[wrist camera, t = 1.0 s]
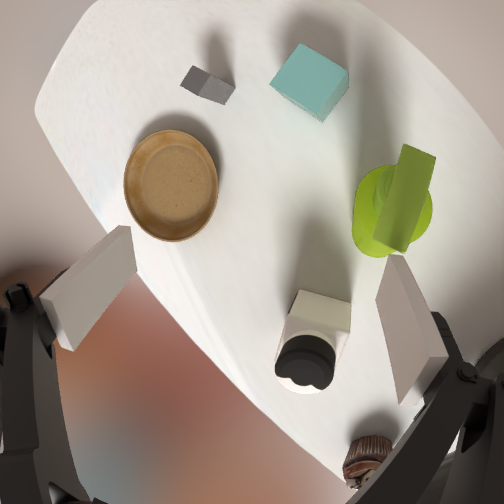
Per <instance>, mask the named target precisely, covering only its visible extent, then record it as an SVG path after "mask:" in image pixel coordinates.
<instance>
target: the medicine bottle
mask: <svg viewBox="0 0 504 504" xmlns="http://www.w3.org/2000/svg"><path fill="white" fill-rule="evenodd" d="M350 325H351V303H348V302H345V301H341V300H337V299H334V298H330V297H326V296H323V295H319V294H316V293H312V292H309V291H305V290H301V289H300V290H298V291H297V294H296V296H295V298H294V301H293V303H292V305H291V307H290V310H289V312H288V314H287V317H286V321H285V324H284V328H283V332H282V336H281V339H280V343H279V346H278V350H277V354H276V357H275V363H276V364H275V374H276V376H277V378H278V380H279V381H280V382H281V384H282V385H283V386H285V387H286V388H287V389H289V390H291V391H293V392H296V393H300V394H312V393H316V392H319V391H322V390H323V389H325V388H326V387H328V386H329V384H330V383H331V382H332V380H333V376H334V371H335V368H336V366H337V364H338V361H339V359H340V357H341V354H342V352H343V349H344V347H345V345H346V342H347V340H348V337H349V335H350Z"/></svg>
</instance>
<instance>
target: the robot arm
mask: <svg viewBox="0 0 504 504" xmlns="http://www.w3.org/2000/svg"><path fill="white" fill-rule="evenodd" d="M136 272H137V266H136V260H135V254H134V248H133V241H132V234H131V227H130V226H120V225H119V226H117V227H116V228H115V229H114V230H112V231H111V232H110V233H109V234H108V235H106V236H105V237H104V238H103V239H102V240H101V241H99V242H98V243H97V244H96V245H95V246H94V247H93V248H91V249H90V250H89V251H88V252H87V253H86V254H84V255H83V256H82V257H81V258H80V259H79V260H78V261H77V262H75V263H74V264H73V265H72V266H71V267H69V268H68V269H65V270H64V271H62V272H61V273H60V274H59V275H57V276H56V277H55V279H53V280H52V281H51V282H50V284H48V285H47V286H46V287H45V288H44V289H43V290H42V291H41V292H40V293H39V294H37V296H36V297H34V298H33V297H32V294H31V292H30V289H29V286H28V284H27V283H25V282H18V283H15V284H12V285H11V286H9V287H8V288H7V289H6V290H5V291H4V293H3V296H4V298H5V301H6V303H7V305H8V308H3V306H2V304H1V301H0V444H1V437H2V431H3V444H4V451H3V453H1V454H0V500H1V504H108V503H105V502H103V501H101V500H99V499H97V498H94V499H93V502H91V501H90V498H89V496H88V494H87V492H86V490H85V489H84V487H83V486H82V485H81V483H80V481H79V479H78V476H77V473H76V469H75V466H74V462H73V458H72V454H71V450H70V446H69V441H68V437H67V432H66V428H65V422H64V416H63V411H62V405H61V398H60V391H59V383H58V375H57V365H56V354H55V347H54V344H53V341H54V340H55V338H56V337H57V339H58V341H59V343H60V345H61V347H63V348H65V349H68V350H71V351H73V352H74V350H75V349H76V348H77V346H78V345H79V344H80V342H81V341H82V340H83V338H84V337H85V336H86V334H87V333H88V332H89V330H90V329H91V328H92V326H93V325H94V324H95V323H96V321H97V320H98V319H99V317H100V316H101V315H102V314H103V312H104V311H105V310H106V308H107V307H108V306H109V305H110V303H111V302H112V301H113V300H114V298H115V297H116V296H117V295H118V294H119V292H120V291H121V290H122V289H123V287H124V286H125V285H126V284H127V282H128V281H129V280H130V279H131V278H132V277H133V275H134V274H135V273H136ZM375 301H376V304H377V308H378V312H379V316H380V319H381V323H382V327H383V331H384V336H385V340H386V344H387V348H388V353H389V357H390V362H391V367H392V372H393V377H394V382H395V387H396V392H397V398H398V404H399V406H404V405H417V403H418V402H419V401H420V399H421V398H422V396H423V398H424V402H425V405H424V406H423V407H422V409H421V410H420V411H419V412H418V414H417V415H416V416H415V417H414V421H413V422H412V424H411V425H410V427H409V428H408V429H407V431H406V432H405V434H404V435H403V436H402V438H401V439H400V441H399V442H398V443H397V445H396V446H395V447H394V449H393V450H392V451H391V452H390V454H389V455H388V456H387V458H386V459H385V460H384V461H383V462H382V464H381V465H380V466H379V467H378V469H377V470H376V471H375V472H374V473H373V474H372V476H371V477H370V478H369V479H368V480H367V481H366V482H365V484H364V485H363V486H362V487H361V488H360V489H359V490H358V491H357V492H356V493H355V494H354V495H353V497H352V498H351V499H350V500H349V501H348V502H347V503H346V504H504V339H502V340H501V341H499V342H498V343H496V344H495V345H494V346H493V347H492V348H491V349H490V350H489V351H488V352H487V353H486V354H485V355H484V356H483V357H482V358H481V360H480V361H479V362H478V364H477V365H476V367H474V366H473V365H471V364H470V363H467V362H465V361H463V358H462V356H461V354H460V351H459V349H458V346H457V344H456V342H455V339H454V338H453V335H452V333H451V331H450V328H449V326H448V324H447V322H446V320H445V319H444V318H443V317H442V316H441V315H440V313H439V312H430V310H429V308H428V306H427V303H426V301H425V299H424V297H423V295H422V293H421V291H420V288H419V286H418V284H417V282H416V280H415V278H414V276H413V274H412V272H411V270H410V268H409V266H408V264H407V262H406V261H405V259H404V257H403V256H401V255H393V254H389V256H388V259H387V263H386V267H385V270H384V274H383V277H382V280H381V284H380V287H379V290H378V293H377V296H376V299H375ZM459 430H460V433H459V437H458V442H457V446H456V450H455V451H454V452H451V453H449V454H447V453H448V451H449V449H450V447H451V445H452V443H453V442H454V440H455V438H456V436H457V434H458V432H459Z"/></svg>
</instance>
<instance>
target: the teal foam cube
mask: <svg viewBox="0 0 504 504" xmlns="http://www.w3.org/2000/svg"><path fill="white" fill-rule="evenodd" d="M269 85H271V86H272V87H273V88H274V89H275V90H276V91H278V92H279V93H280V94H281V95H282V96H283V97H284V98H286V99H288V100H289V101H291V102H292V103H294V104H295V105H297V106H298V107H300V108H301V109H303V110H304V111H306V112H307V113H309V114H310V115H312V116H313V117H315V118H316V119H318V120H319V121H320V122H322V123H323V121H324V120H325V119H326V117H327V116H328V115H329V113H330V112H331V111H332V109H333V108H334V107H335V105H336V104H337V103H338V101H339V100H340V99H341V97H342V96H343V95H344V93H345V92H346V91H347V89H348V88H349V81H348V71H347V70H345V69H344V68H342V67H340V66H339V65H337V64H336V63H334V62H332V61H331V60H329V59H328V58H326V57H324V56H323V55H321V54H319V53H317V52H316V51H314V50H312V49H310V48H309V47H307V46H305V45H303V44H301V43H300V44H299V45H298V46H297V48H296V49H295V50H294V51H293V53H292V54H291V55H290V57H289V58H288V59H287V61H286V62H285V63H284V65H283V66H282V67H281V69H280V70H279V71H278V73H277V74H276V75H275V77H274V78H273V80H272V81H271V82H270V84H269Z"/></svg>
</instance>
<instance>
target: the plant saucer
mask: <svg viewBox="0 0 504 504" xmlns="http://www.w3.org/2000/svg"><path fill="white" fill-rule="evenodd" d="M124 194H125V200H126V203H127V206H128V209H129V211H130V213H131V215H132V217H133V218H134V220H135V221H136V223H137V224H138V225H139V226H140V227H141V228H142V229H143V230H144V231H145V232H146V233H148V234H149V235H151V236H152V237H154V238H156V239H159V240H162V241H167V242H179V241H183V240H187V239H189V238H191V237H193V236H195V235H196V234H197V233H199V232H200V231H201V230H202V229H203V228H204V227H205V226H206V224H207V223H208V222H209V220H210V218H211V217H212V215H213V212H214V210H215V207H216V203H217V199H218V177H217V172H216V168H215V165H214V162H213V160H212V157H211V155H210V154H209V152H208V151H207V149H206V148H205V147H204V146H203V144H202V143H201V142H200V141H198V140H197V139H196V138H195V137H193V136H191V135H190V134H188V133H186V132H183V131H179V130H173V129H167V130H161V131H157V132H155V133H152V134H150V135H149V136H147V137H146V138H144V139H143V140H142V141H141V142H140V143H139V144H138V145H137V146H136V147H135V149H134V150H133V151H132V153H131V155H130V157H129V159H128V162H127V164H126V168H125V173H124Z"/></svg>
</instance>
